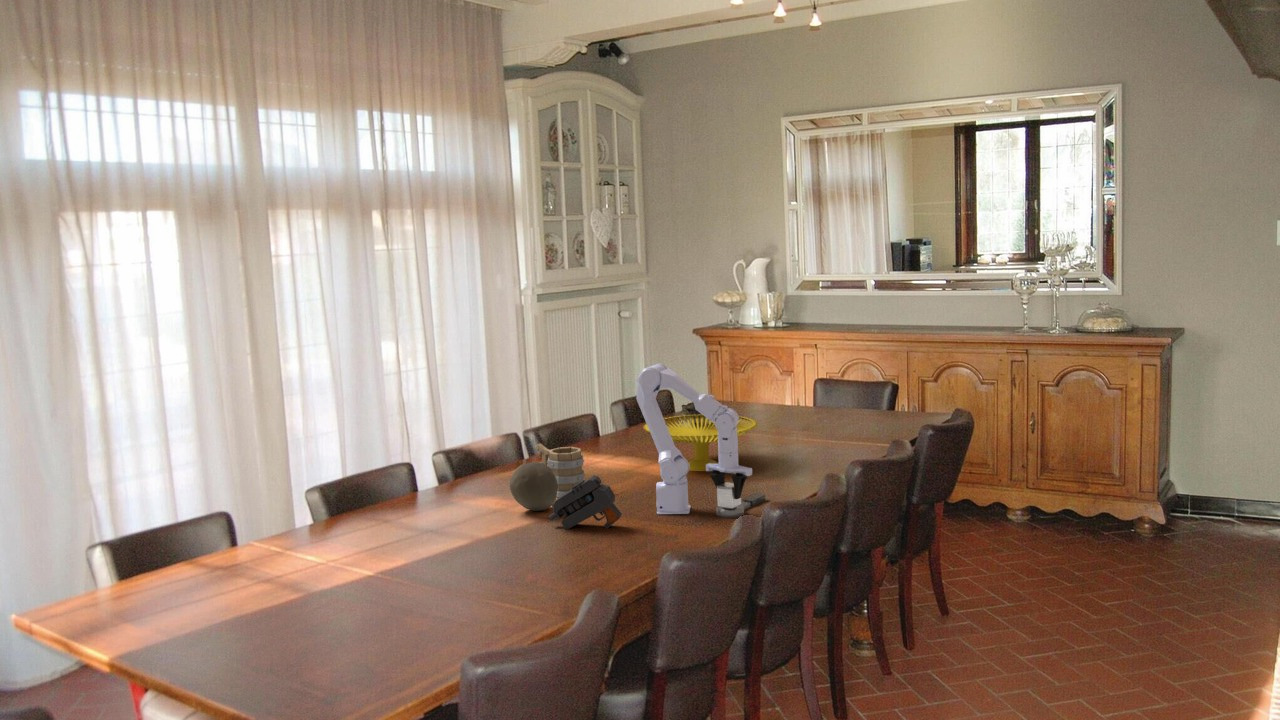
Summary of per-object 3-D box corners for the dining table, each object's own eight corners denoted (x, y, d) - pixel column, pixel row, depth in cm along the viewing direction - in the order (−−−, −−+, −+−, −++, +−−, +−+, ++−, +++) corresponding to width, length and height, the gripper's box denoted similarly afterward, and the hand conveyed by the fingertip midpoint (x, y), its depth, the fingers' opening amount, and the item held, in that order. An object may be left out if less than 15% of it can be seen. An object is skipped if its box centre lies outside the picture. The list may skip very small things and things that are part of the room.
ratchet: (735, 519, 295) (734, 502, 295) (711, 515, 300) (710, 499, 299) (772, 501, 313) (771, 485, 312) (749, 498, 317) (748, 482, 317)
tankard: (594, 491, 334) (592, 445, 332) (566, 499, 325) (563, 453, 323) (553, 482, 348) (550, 439, 346) (524, 490, 339) (522, 446, 337)
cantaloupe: (539, 502, 323) (536, 455, 321) (568, 509, 313) (565, 461, 311) (502, 512, 313) (499, 464, 311) (531, 520, 303) (529, 470, 301)
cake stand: (701, 486, 334) (699, 441, 332) (621, 468, 364) (619, 426, 362) (783, 464, 360) (782, 421, 358) (702, 448, 390) (700, 409, 388)
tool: (623, 520, 289) (595, 474, 289) (567, 552, 293) (539, 507, 293) (627, 514, 295) (600, 469, 294) (573, 545, 299) (545, 501, 299)
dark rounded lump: (718, 435, 437) (697, 408, 442) (736, 416, 431) (714, 389, 436) (681, 446, 415) (659, 418, 420) (699, 426, 408) (677, 398, 413)
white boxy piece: (717, 506, 300) (716, 486, 299) (726, 501, 304) (725, 481, 303) (732, 508, 297) (731, 488, 296) (741, 503, 301) (740, 483, 300)
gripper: (699, 451, 299) (701, 497, 301) (742, 456, 291) (744, 503, 293) (712, 447, 305) (714, 491, 307) (755, 451, 297) (756, 497, 298)
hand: (729, 497), depth 300 cm, fingers closed on white boxy piece, 5 cm apart
